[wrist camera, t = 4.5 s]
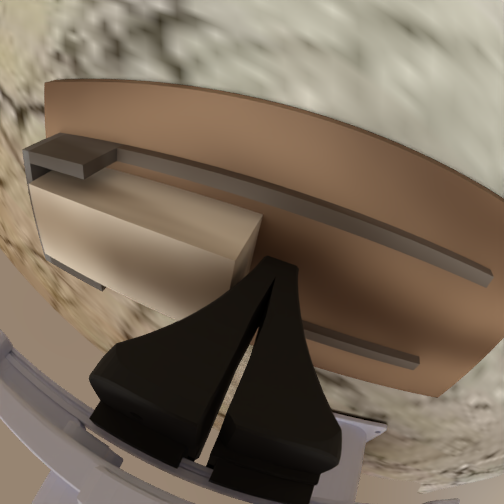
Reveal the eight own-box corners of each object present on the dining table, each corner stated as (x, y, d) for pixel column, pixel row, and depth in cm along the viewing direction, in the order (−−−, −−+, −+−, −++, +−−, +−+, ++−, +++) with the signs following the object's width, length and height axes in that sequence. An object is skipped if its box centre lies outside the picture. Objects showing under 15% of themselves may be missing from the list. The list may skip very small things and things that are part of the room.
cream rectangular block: (244, 289, 14) (220, 338, 11) (81, 224, 15) (45, 253, 12) (263, 214, 11) (234, 260, 9) (73, 159, 12) (28, 183, 10)
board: (436, 387, 15) (438, 431, 12) (74, 255, 18) (44, 283, 16) (561, 241, 7) (593, 286, 5) (55, 79, 11) (5, 94, 8)
